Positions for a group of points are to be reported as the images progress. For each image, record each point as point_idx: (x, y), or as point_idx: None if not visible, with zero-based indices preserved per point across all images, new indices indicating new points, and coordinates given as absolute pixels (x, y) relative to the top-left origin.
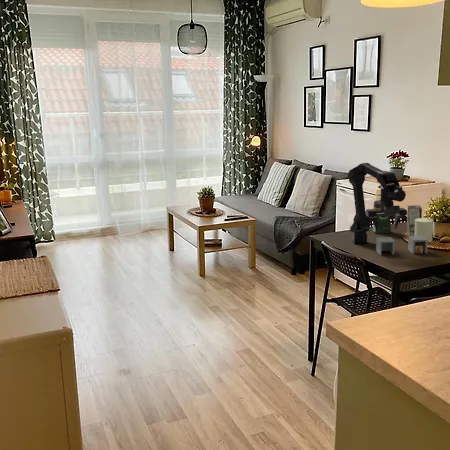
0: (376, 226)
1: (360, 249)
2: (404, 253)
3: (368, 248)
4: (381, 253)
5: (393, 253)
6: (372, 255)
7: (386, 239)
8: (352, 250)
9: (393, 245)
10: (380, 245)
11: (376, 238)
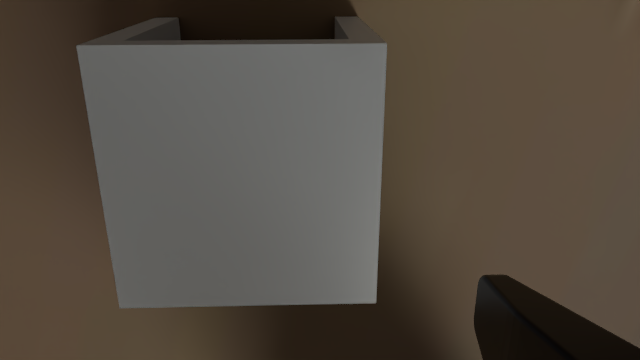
0: (559, 325)
1: None
2: (5, 56)
3: (410, 306)
4: (337, 17)
5: (162, 18)
6: (459, 17)
7: (225, 169)
8: (619, 254)
9: (130, 31)
10: (368, 33)
11: (375, 289)
